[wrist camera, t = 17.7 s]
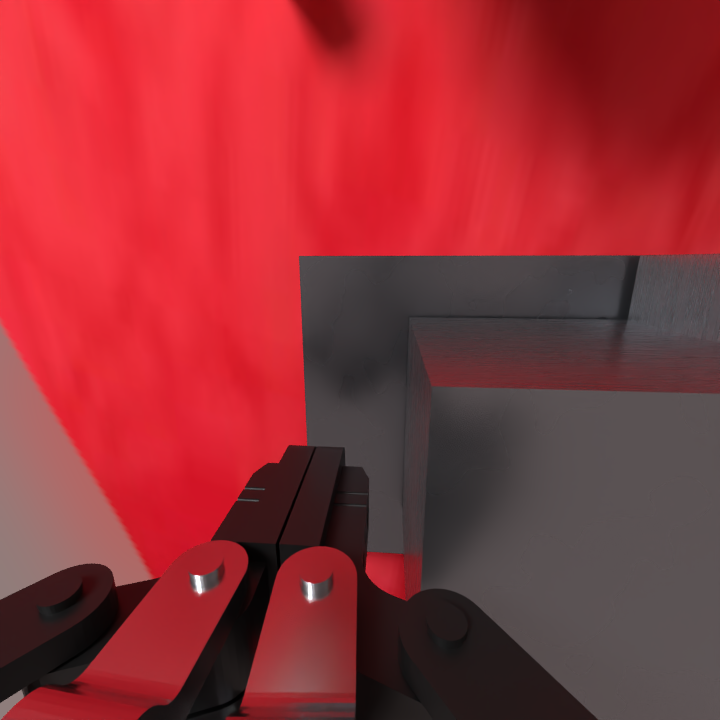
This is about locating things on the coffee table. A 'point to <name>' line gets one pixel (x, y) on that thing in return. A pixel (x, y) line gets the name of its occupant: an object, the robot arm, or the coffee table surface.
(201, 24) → the coffee table surface
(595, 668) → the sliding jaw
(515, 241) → the coffee table surface
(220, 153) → the coffee table surface
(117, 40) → the coffee table surface
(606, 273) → the vise
